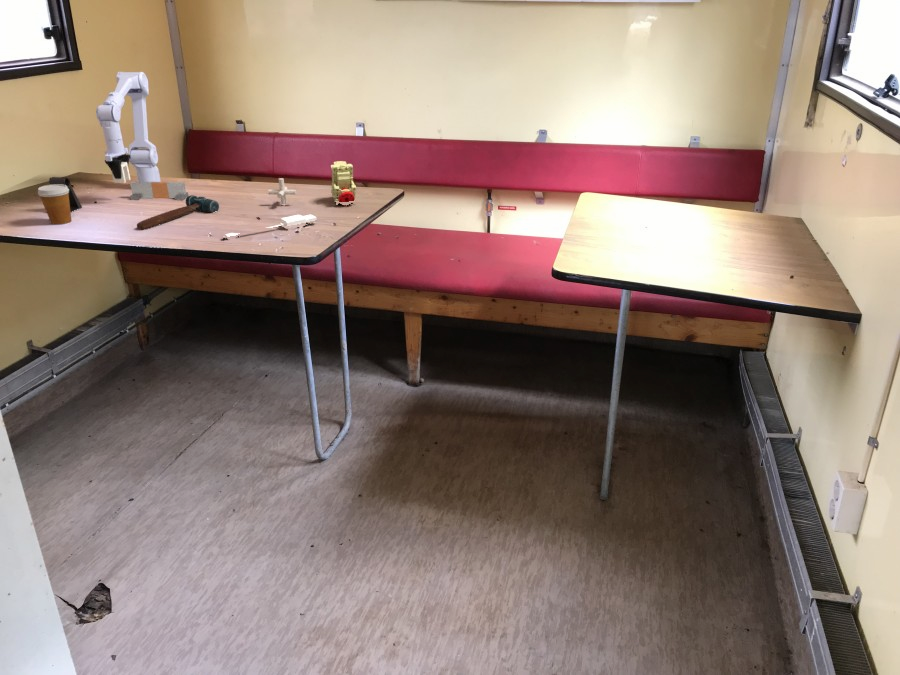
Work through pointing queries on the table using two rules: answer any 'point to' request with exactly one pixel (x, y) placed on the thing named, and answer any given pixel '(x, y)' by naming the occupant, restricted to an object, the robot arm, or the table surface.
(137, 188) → the grey and orange bar
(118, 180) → the clip
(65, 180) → the phone stand
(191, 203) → the hammer
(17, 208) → the table surface
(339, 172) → the mechanical component
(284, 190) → the pipe connector
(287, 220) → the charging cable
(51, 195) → the disposable coffee cup
